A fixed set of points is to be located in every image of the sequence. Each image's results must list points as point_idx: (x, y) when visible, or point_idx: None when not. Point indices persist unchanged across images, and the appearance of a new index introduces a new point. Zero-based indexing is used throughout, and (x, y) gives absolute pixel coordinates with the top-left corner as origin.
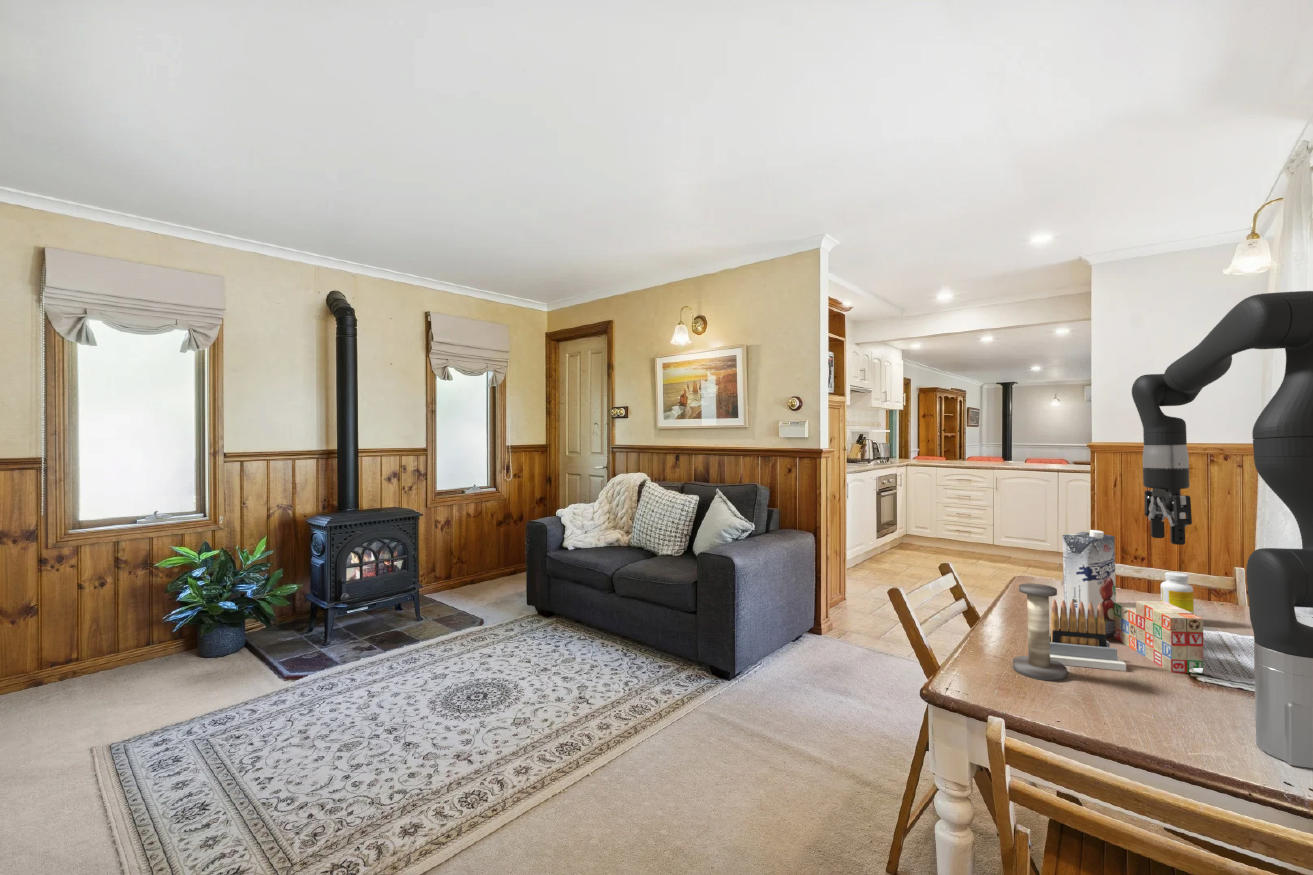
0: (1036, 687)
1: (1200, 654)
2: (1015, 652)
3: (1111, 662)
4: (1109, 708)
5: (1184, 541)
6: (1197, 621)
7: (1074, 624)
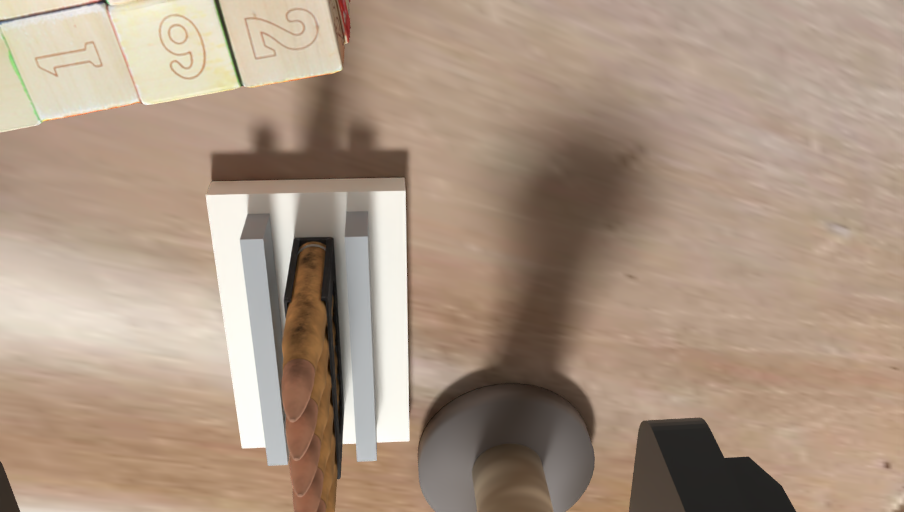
0: None
1: None
2: None
3: (399, 239)
4: (790, 329)
5: (712, 446)
6: None
7: (330, 434)
